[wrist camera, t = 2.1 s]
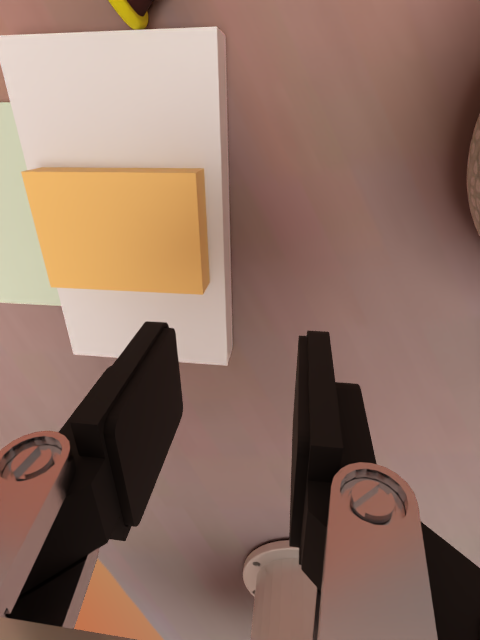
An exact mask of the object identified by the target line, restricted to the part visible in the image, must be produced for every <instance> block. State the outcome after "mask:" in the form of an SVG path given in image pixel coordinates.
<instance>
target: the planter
mask: <svg viewBox="0 0 480 640" xmlns="http://www.w3.org/2000/svg"><path fill="white" fill-rule="evenodd" d="M467 194H468V201H469V206H470V211H471V215H472V219H473V222H474V225H475V227H476V230H477V232H478V234H479V236H480V114H479V116H478V119H477V122H476V125H475V129H474V132H473V136H472V140H471V144H470V149H469V155H468V163H467Z"/></svg>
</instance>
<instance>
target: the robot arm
mask: <svg viewBox="0 0 480 640" xmlns="http://www.w3.org/2000/svg"><path fill="white" fill-rule="evenodd" d="M182 412H183V401H182V391H181V382H180V372H179V362H178V352H177V342H176V333H175V329H174V328H169V326H168V324H167V322H150V321H146V322H145V323H144V324H143V325H142V327H141V328H140V329H139V331H138V332H137V333H136V335H135V336H134V337H133V339H132V340H131V341H130V343H129V344H128V345H127V347H126V348H125V349H124V351H123V352H122V353H121V355H120V356H119V357H118V359H117V360H116V361H115V363H114V364H113V365H112V366H110V367H109V368H108V369H106V371H105V372H104V373H103V375H102V376H101V377H100V378H99V380H98V381H97V382H96V384H95V385H94V386H93V388H92V389H91V390H90V392H89V393H88V394H87V396H86V397H85V398H84V399H83V401H82V402H81V403H80V405H79V406H78V407H77V409H76V410H75V411H74V413H73V414H72V415H71V417H70V418H69V419H68V420H67V422H66V423H65V424H64V426H63V427H62V428H61V430H60V431H59V432H53V431H41V432H34V433H31V434H28V435H24V436H22V437H20V438H18V439H16V440H14V441H12V442H11V443H9V444H8V445H7V446H5V447H4V448H2V449H1V451H0V640H135V639H129V638H124V637H118V636H111V635H106V634H99V633H94V632H88V631H82V630H76V629H74V627H75V624H76V621H77V618H78V615H79V612H80V609H81V606H82V602H83V600H84V597H85V594H86V590H87V587H88V585H89V582H90V579H91V576H92V573H93V570H94V567H95V564H96V561H97V558H98V553H99V548H100V547H101V546H103V545H105V544H106V543H107V542H108V540H109V539H114V540H121V541H126V538H127V536H128V533H129V531H130V528H131V526H138V525H139V523H140V521H141V519H142V516H143V514H144V511H145V509H146V506H147V504H148V501H149V498H150V496H151V493H152V491H153V488H154V486H155V483H156V481H157V478H158V476H159V473H160V471H161V468H162V466H163V463H164V461H165V458H166V456H167V453H168V450H169V448H170V445H171V443H172V440H173V438H174V435H175V433H176V430H177V428H178V425H179V423H180V420H181V417H182ZM243 581H244V584H245V586H246V588H247V589H248V591H249V592H250V593H251V594H252V595H253V596H254V597H255V599H254V609H253V619H252V629H251V639H250V640H480V568H479V567H478V566H476V565H475V564H474V563H473V562H471V561H470V560H469V559H468V558H466V557H465V556H464V555H463V554H461V553H460V552H459V551H457V550H456V549H455V548H454V547H452V546H451V545H450V544H449V543H447V542H446V541H445V540H444V539H442V538H441V537H440V536H438V535H437V534H436V533H435V532H433V531H432V530H431V529H430V528H428V527H427V526H426V525H425V524H423V523H422V522H421V521H420V515H419V508H418V503H417V500H416V497H415V494H414V492H413V491H412V489H411V488H410V486H409V485H408V483H407V482H406V481H405V480H403V479H402V478H401V477H400V476H399V475H398V474H397V473H395V472H393V471H391V470H389V469H388V468H386V467H383V466H380V465H377V464H376V460H375V455H374V450H373V446H372V441H371V436H370V431H369V427H368V422H367V417H366V412H365V408H364V403H363V398H362V393H361V389H360V386H359V385H358V384H351V383H338V382H335V377H334V368H333V360H332V352H331V344H330V336H329V332H320V331H307V336H299V342H298V356H297V371H296V385H295V400H294V414H293V437H292V470H291V503H290V537H289V540H283V541H276V542H271V543H268V544H265V545H263V546H260V547H259V548H257V549H255V550H254V551H252V552H251V553H250V554H249V555H248V557H247V558H246V560H245V562H244V569H243Z"/></svg>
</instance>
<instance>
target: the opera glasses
mask: <svg viewBox="0 0 480 640" xmlns="http://www.w3.org/2000/svg"><path fill="white" fill-rule="evenodd" d="M108 1H109V2H110V4H111V5H112V7H113V8H114V9H115V10H116V12H117V13H118V14H119V16H120V17H121V18H122V19H123V21H124V22H125V23H126V24H127V25H128V26H130V27H131V28H132V29H134V30H143V29H145V28H146V26H147V24H148V13H147V10H148V8H149V7H150V5H151V3H152V2H153V0H108Z"/></svg>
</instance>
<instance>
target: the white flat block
mask: <svg viewBox="0 0 480 640" xmlns="http://www.w3.org/2000/svg"><path fill="white" fill-rule="evenodd" d="M0 63H1V67H2V71H3V75H4V79H5V83H6V87H7V91H8V95H9V99H10V103H11V107H12V111H13V115H14V119H15V123H16V127H17V131H18V135H19V139H20V143H21V147H22V151H23V155H24V159H25V163H26V167H27V170H31V169H36V168H41V167H83V168H204V177H205V197H206V216H207V236H208V256H209V275H210V283H209V285H208V287H207V288H206V290H205V292H204V294H203V295H198V294H177V293H157V292H136V291H115V290H95V289H74V288H57V290H58V294H59V298H60V302H61V306H62V310H63V314H64V318H65V322H66V326H67V330H68V334H69V338H70V342H71V346H72V350H73V354H74V355H87V356H101V357H114V358H118V357H119V356H120V355H121V353H122V352H123V351H124V349H125V348H126V347H127V345H128V344H129V343H130V341H131V340H132V339H133V337H134V336H135V335H136V333H137V332H138V331H139V329H140V328H141V327H142V325H143V324H144V323H145V322H146V321H150V322H167V324H168V326H169V328H174V329H175V333H176V342H177V352H178V362H184V363H198V364H212V365H226V366H228V362H229V359H230V355H231V352H232V349H233V334H232V290H231V246H230V202H229V159H228V115H227V71H226V35H225V34H224V33H223V32H222V31H221V30H220V29H219V28H218V27H194V28H170V29H146V30H122V31H98V32H74V33H49V34H25V35H1V36H0Z"/></svg>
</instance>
